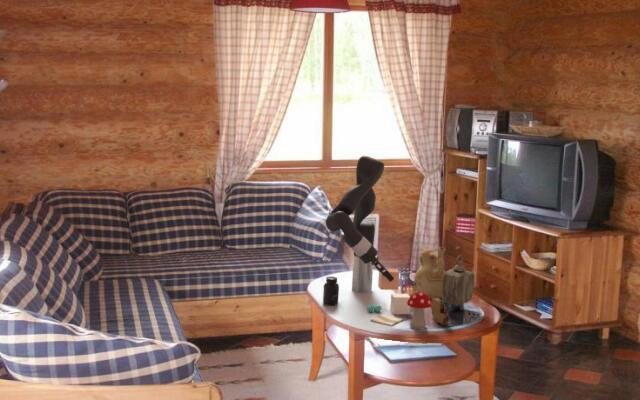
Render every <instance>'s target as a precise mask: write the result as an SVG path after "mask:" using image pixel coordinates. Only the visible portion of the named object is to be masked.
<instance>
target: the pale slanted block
mask: <svg viewBox="0 0 640 400" xmlns="http://www.w3.org/2000/svg"><path fill="white" fill-rule="evenodd" d="M410 296H411V295H409V293H391V296H390V312H391V313H392V314H393V315H410V313H411V307H410V306H408V305H407V302H408V299H409V298H410Z"/></svg>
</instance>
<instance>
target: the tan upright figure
mask: <svg viewBox="0 0 640 400" xmlns="http://www.w3.org/2000/svg"><path fill="white" fill-rule="evenodd" d="M445 252H446V248H445V247H444V246H439V247H438V252H436V251H435V250H434V249H432V248H425V249H422V250H421V252H420V254H421V255H420V256H419V262H420V265H421V267H420V268H418V269H417V271H416V273H415V275H414V280H413V281H414V282H415V283H416V284H417V292H424V293H426V294H427V295H428V296H429V298H430V300H432V298H439V299H442V283H443V276H444V274H445V272H446V270H445V260H444V255H445ZM415 283H414V284H415Z"/></svg>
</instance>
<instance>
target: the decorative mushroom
mask: <svg viewBox="0 0 640 400" xmlns="http://www.w3.org/2000/svg"><path fill="white" fill-rule="evenodd" d="M409 296H410V298H409V299H408V302H407V305H408V306H410V308H413V309H414V310H413V314H412V318H411V320H410V321H409V325H410V328H411V327H412V329H414V328H418V329H417V330H421V329H422V328H424V329H426V328H427V321H426V317H425V312H424V311H425V310H424V309H428V308H430V307H431V305H432V302H431V300H432V299H430V298H429V296H428V295H427V294H426V293H424V292H416V291H415V292H413V293H412V294H411V295H409ZM422 330H423V329H422Z"/></svg>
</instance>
